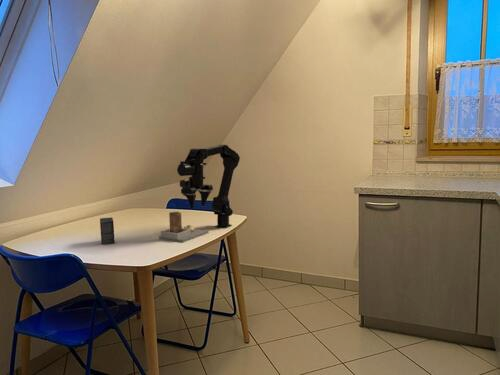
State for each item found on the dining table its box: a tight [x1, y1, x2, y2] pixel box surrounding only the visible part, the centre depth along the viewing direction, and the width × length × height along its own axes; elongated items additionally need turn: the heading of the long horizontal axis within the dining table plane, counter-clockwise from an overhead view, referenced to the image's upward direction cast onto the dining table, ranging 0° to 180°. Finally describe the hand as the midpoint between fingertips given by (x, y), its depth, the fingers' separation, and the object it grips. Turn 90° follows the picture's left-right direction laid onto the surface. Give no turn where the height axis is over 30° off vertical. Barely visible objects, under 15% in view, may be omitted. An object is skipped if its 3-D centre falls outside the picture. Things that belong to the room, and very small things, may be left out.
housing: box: [158, 224, 209, 243], centre depth 197 cm, size 20×14×4 cm
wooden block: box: [168, 211, 183, 233], centre depth 193 cm, size 4×4×11 cm
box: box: [99, 216, 116, 246], centre depth 187 cm, size 8×6×11 cm
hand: (197, 206), depth 200 cm, fingers open, 9 cm apart
